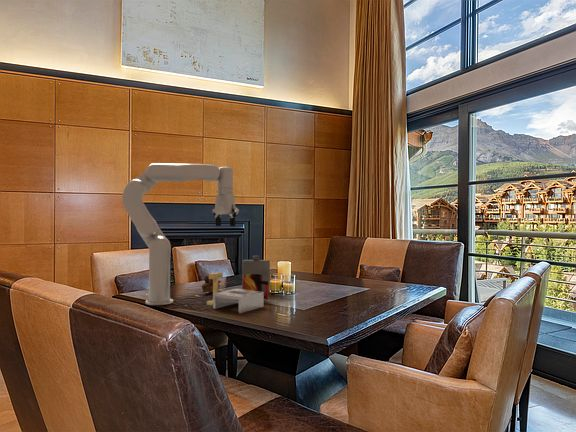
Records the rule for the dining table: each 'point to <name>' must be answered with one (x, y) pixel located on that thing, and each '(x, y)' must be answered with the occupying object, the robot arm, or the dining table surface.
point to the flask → (257, 270)
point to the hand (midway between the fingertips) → (225, 226)
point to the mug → (254, 283)
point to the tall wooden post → (214, 284)
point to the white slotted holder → (239, 299)
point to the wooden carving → (208, 284)
